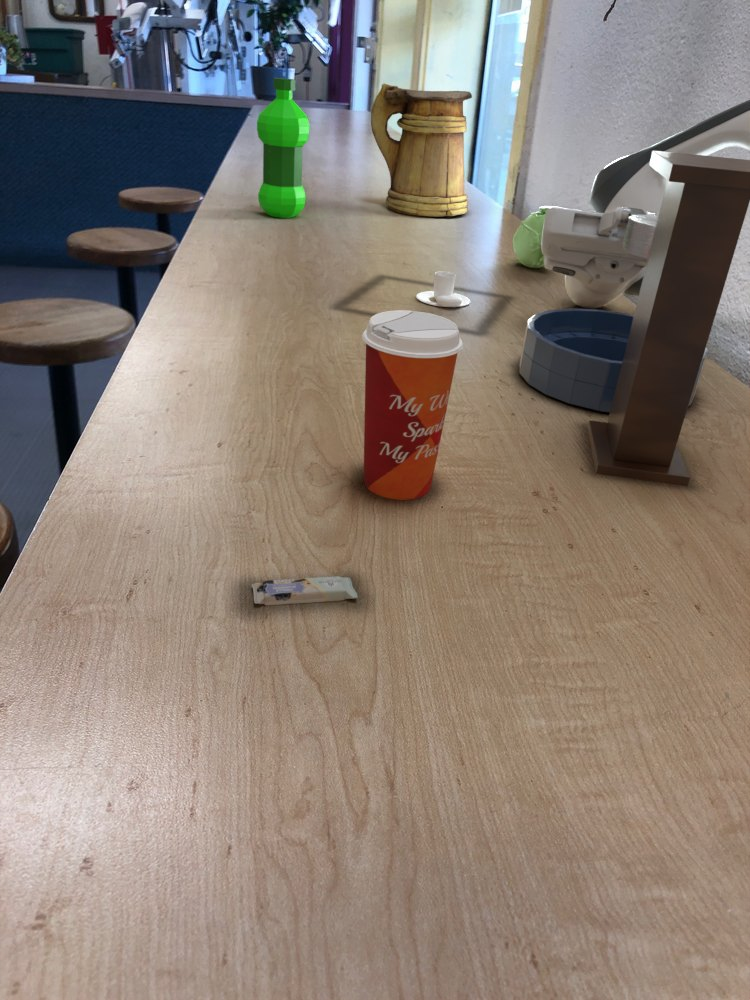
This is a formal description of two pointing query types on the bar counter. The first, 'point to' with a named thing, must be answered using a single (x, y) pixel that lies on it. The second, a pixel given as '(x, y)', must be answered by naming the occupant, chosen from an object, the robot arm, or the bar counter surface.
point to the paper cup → (406, 399)
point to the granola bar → (303, 590)
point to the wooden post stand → (673, 316)
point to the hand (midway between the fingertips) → (638, 215)
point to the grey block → (639, 233)
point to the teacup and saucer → (443, 292)
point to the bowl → (578, 355)
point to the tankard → (423, 150)
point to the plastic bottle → (282, 152)
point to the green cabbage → (530, 239)
